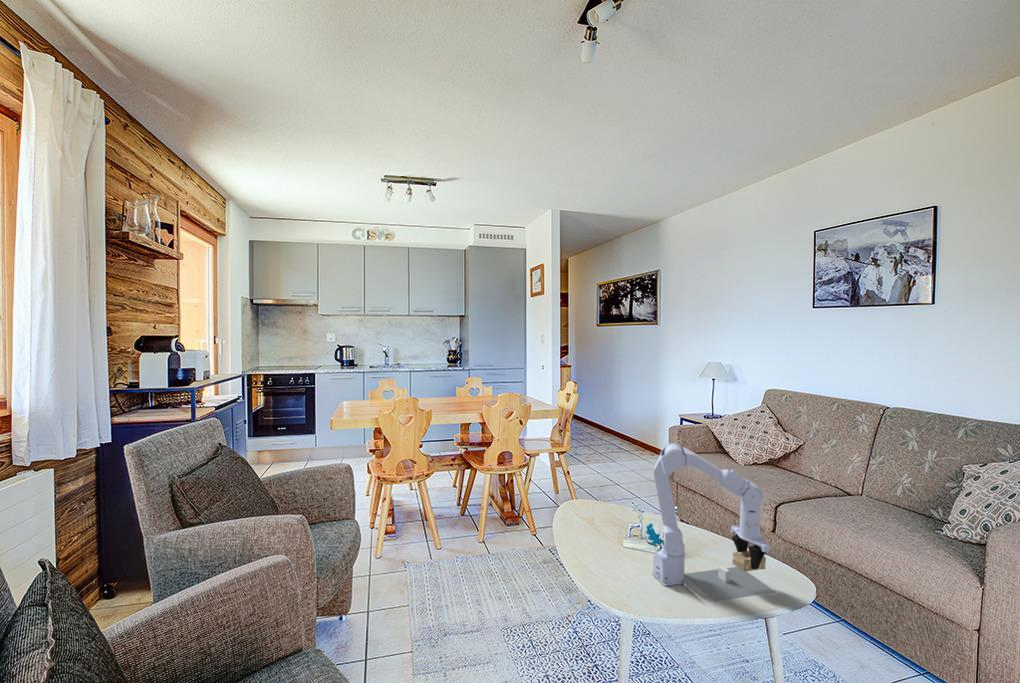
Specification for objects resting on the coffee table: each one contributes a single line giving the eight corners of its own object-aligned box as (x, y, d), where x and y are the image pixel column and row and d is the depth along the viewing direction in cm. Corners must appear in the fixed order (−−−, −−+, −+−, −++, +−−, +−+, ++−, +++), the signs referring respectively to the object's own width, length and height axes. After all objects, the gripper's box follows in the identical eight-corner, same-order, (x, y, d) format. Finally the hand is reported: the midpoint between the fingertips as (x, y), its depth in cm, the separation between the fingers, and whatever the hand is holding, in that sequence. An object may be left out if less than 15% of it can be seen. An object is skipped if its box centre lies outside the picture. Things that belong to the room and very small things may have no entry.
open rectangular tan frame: (743, 571, 146) (744, 559, 146) (732, 563, 151) (732, 552, 151) (765, 568, 148) (765, 557, 148) (753, 561, 153) (754, 549, 153)
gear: (657, 549, 173) (643, 523, 179) (647, 556, 176) (633, 531, 182) (675, 545, 179) (661, 520, 185) (664, 552, 182) (651, 528, 189)
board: (714, 604, 142) (715, 589, 142) (683, 576, 157) (683, 563, 157) (776, 595, 147) (776, 580, 147) (739, 569, 162) (739, 556, 162)
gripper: (778, 530, 143) (777, 574, 143) (744, 511, 157) (743, 552, 157) (758, 532, 141) (757, 576, 142) (726, 513, 155) (724, 554, 156)
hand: (748, 564), depth 150 cm, fingers closed on open rectangular tan frame, 5 cm apart
